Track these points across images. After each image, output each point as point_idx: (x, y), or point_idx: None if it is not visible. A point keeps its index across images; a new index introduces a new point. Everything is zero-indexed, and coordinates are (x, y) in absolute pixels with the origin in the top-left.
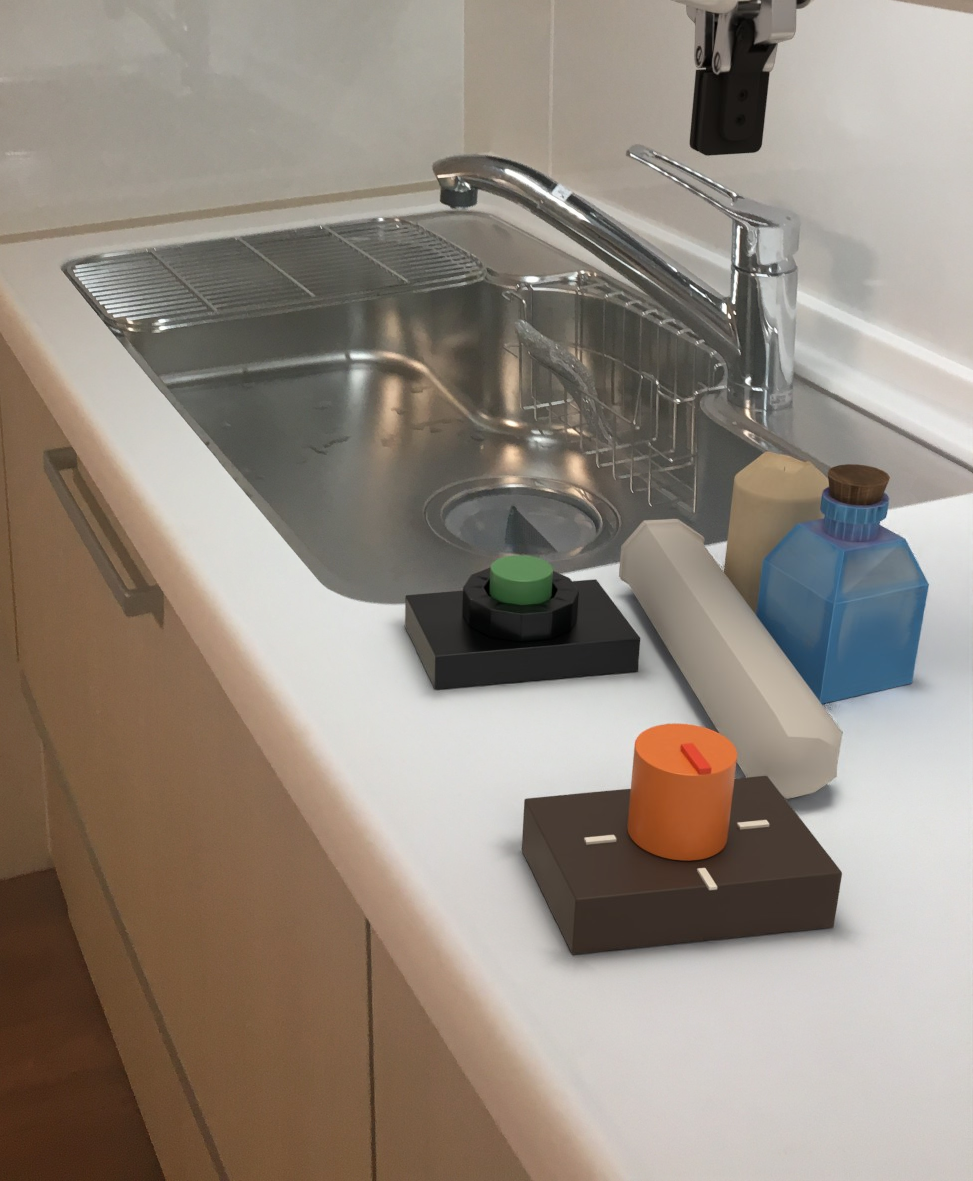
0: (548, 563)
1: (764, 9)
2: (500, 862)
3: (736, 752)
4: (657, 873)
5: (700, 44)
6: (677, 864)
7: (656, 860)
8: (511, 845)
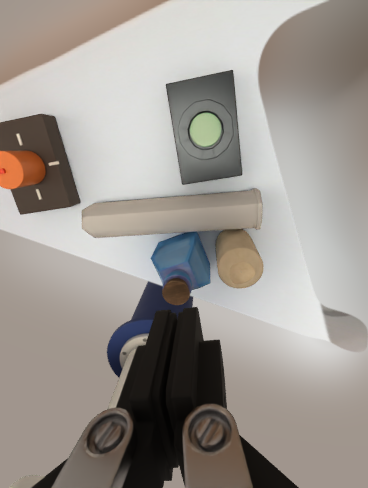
0: (209, 145)
1: None
2: (46, 107)
3: (7, 188)
4: None
5: (206, 457)
6: None
7: None
8: (57, 113)
